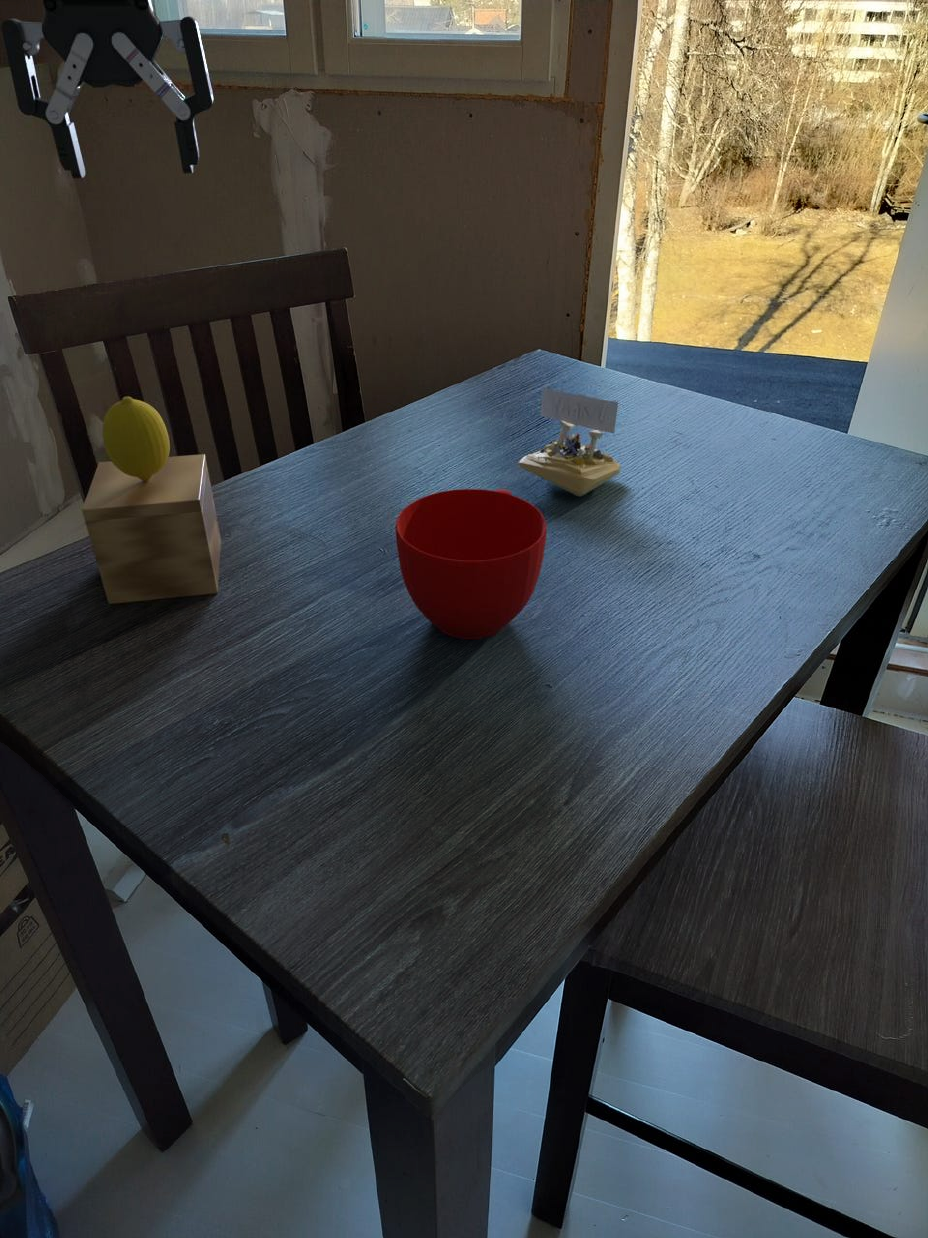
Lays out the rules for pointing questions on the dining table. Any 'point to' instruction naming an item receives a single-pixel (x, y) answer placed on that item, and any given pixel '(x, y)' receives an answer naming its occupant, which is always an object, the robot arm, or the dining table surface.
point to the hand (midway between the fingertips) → (134, 174)
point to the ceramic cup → (470, 558)
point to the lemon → (136, 438)
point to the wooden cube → (154, 531)
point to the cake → (575, 443)
